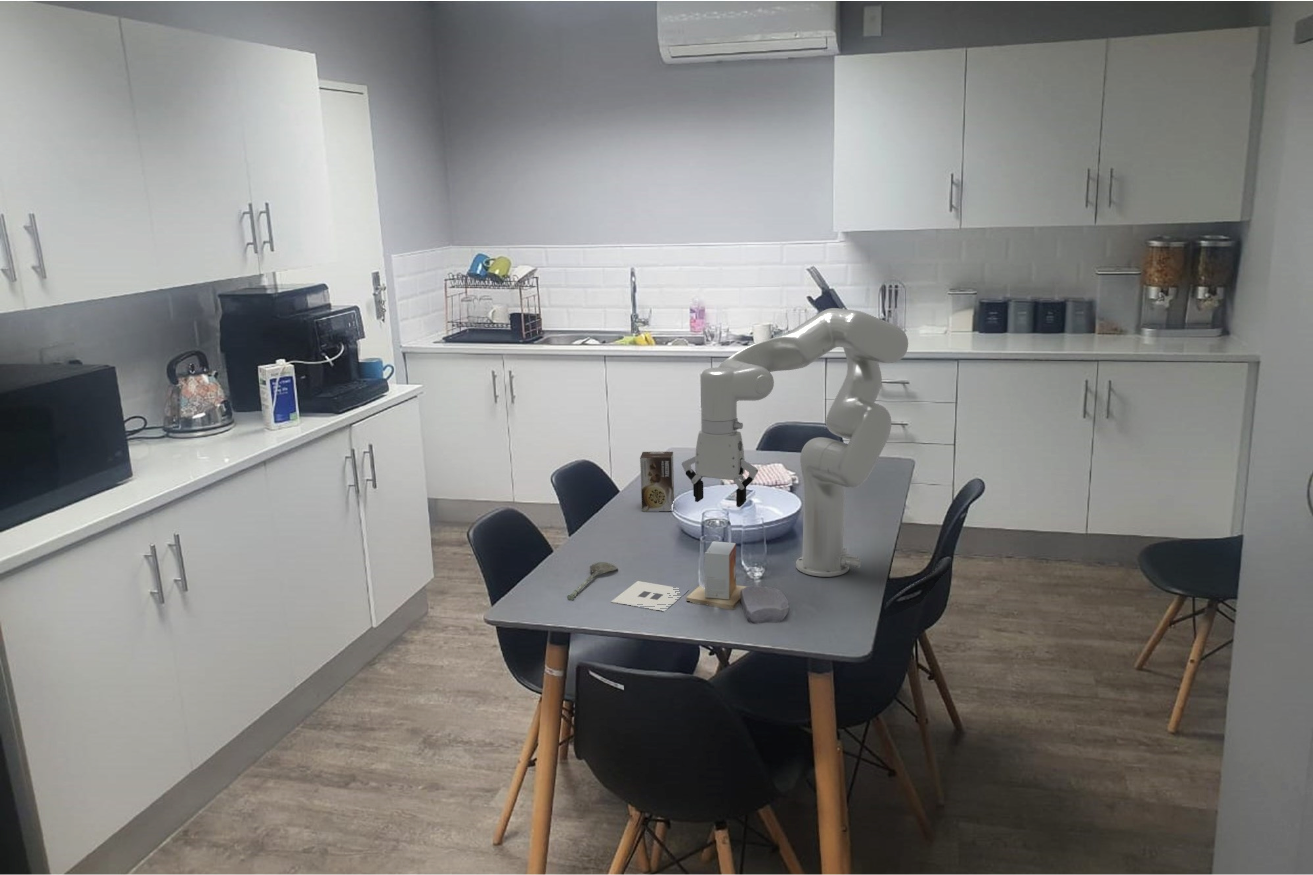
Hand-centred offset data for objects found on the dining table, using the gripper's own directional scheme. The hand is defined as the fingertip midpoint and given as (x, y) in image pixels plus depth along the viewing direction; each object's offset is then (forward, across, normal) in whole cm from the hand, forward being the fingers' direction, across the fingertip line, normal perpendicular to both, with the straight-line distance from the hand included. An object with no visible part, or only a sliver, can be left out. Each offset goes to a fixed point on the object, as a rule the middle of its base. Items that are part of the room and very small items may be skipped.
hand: (719, 502), depth 214 cm
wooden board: (+22, 0, 0) cm, 22 cm away
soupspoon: (+22, +31, +4) cm, 38 cm away
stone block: (+22, -12, +4) cm, 26 cm away
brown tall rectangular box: (+22, +40, -52) cm, 69 cm away
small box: (+21, 0, 0) cm, 21 cm away
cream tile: (+22, +14, +6) cm, 27 cm away
